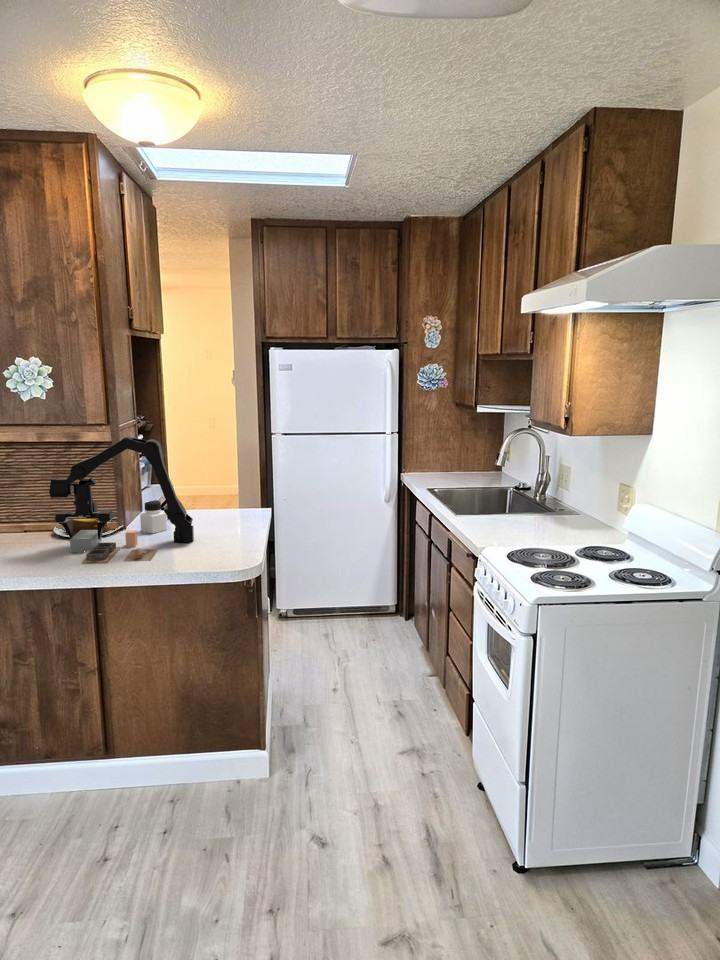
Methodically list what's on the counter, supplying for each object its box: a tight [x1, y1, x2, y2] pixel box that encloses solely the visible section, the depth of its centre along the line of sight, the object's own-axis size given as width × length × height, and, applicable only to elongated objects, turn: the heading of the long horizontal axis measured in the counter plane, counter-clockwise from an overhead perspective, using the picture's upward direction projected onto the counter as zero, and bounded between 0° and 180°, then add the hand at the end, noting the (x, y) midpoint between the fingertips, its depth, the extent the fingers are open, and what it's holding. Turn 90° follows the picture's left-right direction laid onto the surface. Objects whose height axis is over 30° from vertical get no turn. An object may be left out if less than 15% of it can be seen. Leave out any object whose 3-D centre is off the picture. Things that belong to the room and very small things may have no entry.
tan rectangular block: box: [124, 529, 138, 548], centre depth 225 cm, size 3×3×6 cm
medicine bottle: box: [139, 499, 168, 534], centre depth 247 cm, size 7×7×12 cm
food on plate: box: [52, 519, 125, 538], centre depth 246 cm, size 25×25×7 cm
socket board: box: [81, 541, 121, 565], centre depth 213 cm, size 8×16×4 cm, turn 6°
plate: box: [123, 548, 159, 562], centre depth 214 cm, size 9×13×4 cm
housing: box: [69, 530, 103, 553], centre depth 224 cm, size 7×12×5 cm, turn 7°
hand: (86, 539), depth 224 cm, fingers open, 9 cm apart
